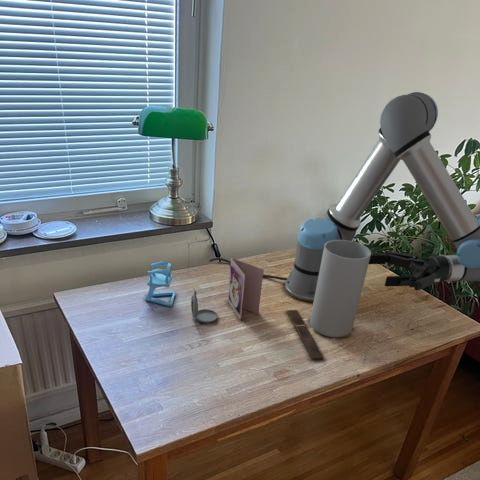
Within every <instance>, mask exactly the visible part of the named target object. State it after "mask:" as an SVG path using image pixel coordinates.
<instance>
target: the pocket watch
mask: <svg viewBox="0 0 480 480" xmlns="http://www.w3.org/2000/svg"><path fill="white" fill-rule="evenodd" d="M193 290H194V292H193V294H192V295H191V298H190V308H191V314H192V318H194V319H195V320H196V321H197V322H200V323H202V324H203V323H204V324H210V323H213V322H216V320H217V319H218V313H217V311H214V310H212V309H207V308H203V309H199V301H198V297H197V291H196V290H195V287H193Z"/></svg>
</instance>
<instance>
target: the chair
mask: <svg viewBox="0 0 480 480" xmlns="http://www.w3.org/2000/svg"><path fill="white" fill-rule="evenodd" d="M158 266H164V267H165V268H155V267H158ZM172 266H173V265H172V264H171V263H169V262H166V261H158V262H153V263H151V268H152V270H148V271H147V274H148V276H149V279H148V281H147V283H146V284H147V286H149V289H148V293H147V295H146V296H145V300H146V301H147V302H152V303H156V304H160V305H162V306H168V307H172V306H173V303H174V301H175V297H176V291H159V292H158V291H157V292H156V291H155V290H156V289H157V288H170V286H171V283H172V280H173V278H174V277H173V274H172V273H171V270H172V268H173V267H172ZM163 296H171V299H170V301H165V300H162V299H159V298H155V297H163Z"/></svg>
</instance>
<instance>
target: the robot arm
mask: <svg viewBox="0 0 480 480" xmlns="http://www.w3.org/2000/svg"><path fill="white" fill-rule="evenodd" d="M438 116H439V109H438V105H437V102H436V101H435V100H434V98H433V97H432V96H430V95H429V94H427V93H424V92H419V91H413V92H410V93H407V94H401V95H398V96H396V97H394V98H392V99H391V100H389V102H387V104H386V105H385V106H384V108H383V109H382V112H381V114H380V119H379V125H380V127H379V129H378V130H377V131H378V140H377V142H376V143H375V145H374V146H373V148H372V149H371V151H370V153H369V154H368V155H367V157H366V159H365V160H364V162H363V164H361V167H360V168H359V170H358V171H357V173H356V174H355V176H354V177H353V179H352V180H351V182H350V184H349V185H348V186H347V188H346V190H345V192H344V193H343V194H342V196H341V197H340V199H339V201H338V202H337V203H334V204H331V205H329V207H328V209H327V210H326V212H325V213H324V215H323V217H322V218H319V217H318V218H310V219H307V220H305V221H303V222H302V224H301V225H300V227H299V231H298V233H297V243H296V247H295V256H294V263H293V267H292V269H291V270H290V273H289V274H288V277H282V276H278V275H277V276H276V275H268V274H263V278H268V279H275V280H281V281H285V284H284V291H285V292H286V293H287V294H288V295H289V296H290V297H292V298H294V299H296V300H299V301H302V302H308V303H313V302H314V297H315V292H316V287H317V282H318V276H319V271H320V266H321V261H322V256H323V250H324V245H325V243H327V242H328V241H332V240H348V241H353V240H354V238H355V236H356V234H357V231H358V230H359V228H360V226H361V225H362V223H361V217H362V216H363V214H364V213H365V211H366V210H367V209H368V207H369V206H370V204H371V203H372V202H373V200H374V199H375V197H376V196H377V194H378V193H379V191H380V190H381V188H382V187H383V186H384V184H385V183H386V181H387V180H388V178H389V177H390V175H391V174H392V173H393V171H394V170H395V169H396V167H397V166H398V164H399V163H400V161H403V163H404V165H405V167H406V168H407V170H408V171H409V173H410V174H411V176H412V177H413V179H414V181H415V183H416V184H417V186H418V187H419V189H420V191H421V192H422V194H423V196H424V197H425V199H426V201H427V202H428V204H429V205H430V208H431V209H432V210H433V212H434V214H435V215H436V217H437V219H438V220H439V223H441V225H442V227H443V228H444V230H445V232H446V234H447V235H448V237H449V238H450V240H451V242H452V243H453V245H454V246H455V248H456V254H450V255H449V254H448V255H447V254H446V255H445V254H444V255H430V256H429V257H427V259H424V260H423V259H419V255H418V254H409V253H408V254H407V253H403V252H396V251H390V250H384V253H383V254H371V256H370V260H369V264H368V265H386V264H390V265H394V266H397V267H402V268H405V270H406V271H410V272H412V273H413V274H414V275H411V276H410V275H387V276H386V279H385V281H384V286H385V287H388V288H389V287H409V288H413V290H414V291H417V292H418V291H421V290H423V289H425V288H428V287H430V286H433V285H439V284H440V283H441V282H446V283H449V282H480V214H478V215H476V216H475V215H474V213H473V211H472V210H471V208H470V206H469V204H468V203H467V201H466V199H465V198H464V196H463V194H462V193H461V191H460V189H459V188H458V186H457V184H456V183H455V181H454V179H453V178H452V176H451V175H450V173H449V171H448V169H447V168H446V166H445V165H444V163H443V160H441V158H440V156H439V154H438V153H437V151H436V150H435V148H434V146H433V145H432V143H431V140H432V139H431V138H432V134H431V131H432V129H433V128H434V127H435V125H436V123H437V121H438ZM215 261H221V262H225V263H228V264H230V265H231V260H229V259H226V258H223V257H213V258H211V259H210V260H208V262H210V263H212V262H215Z"/></svg>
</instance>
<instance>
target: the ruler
mask: <svg viewBox="0 0 480 480" xmlns="http://www.w3.org/2000/svg"><path fill="white" fill-rule="evenodd" d="M286 313H287V315H288V317H289V319H290V321H291V322H292V324H293V326H294V328H295V330H296V332H297V334H298V336H299V338H300V339H301V342H302V343H303V346H304V347H305V349H306V351H307V353H308V355H309V357H310V359H311V361H323V360H324V356H323V354H322V352H321V350H320V349H319V348H318V345H317V343H316V342H315V340H314V338H313V337H312V335H311V332H310V331H309V329H308V327H307V326H306V324H305V322H304V320H303V318H302V317H301V315H300V313H299V311H298V309H297V310H295V309H294V310H293V309H292V310H291V309H290V310H287V312H286Z"/></svg>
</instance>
